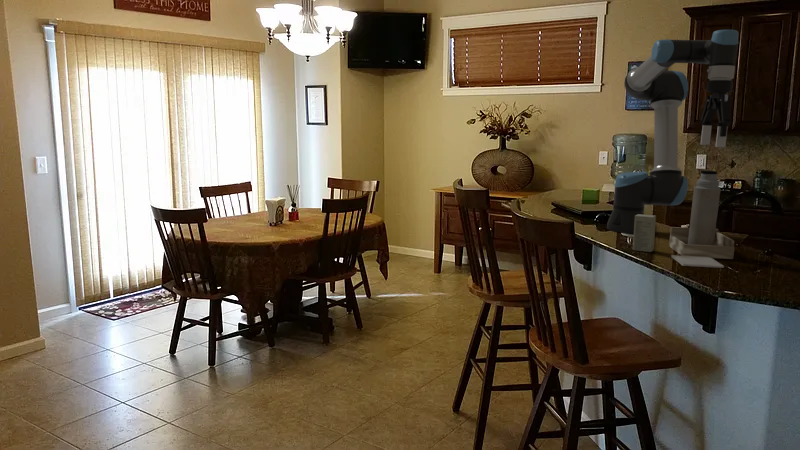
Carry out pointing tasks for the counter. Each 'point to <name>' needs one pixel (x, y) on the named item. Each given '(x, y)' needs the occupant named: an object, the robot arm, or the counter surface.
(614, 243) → the counter surface
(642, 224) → the skincare box
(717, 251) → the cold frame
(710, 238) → the thermos bottle
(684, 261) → the ceramic tile
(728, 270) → the counter surface
